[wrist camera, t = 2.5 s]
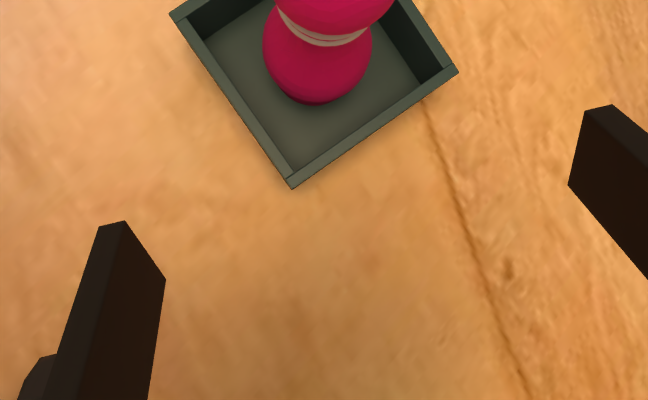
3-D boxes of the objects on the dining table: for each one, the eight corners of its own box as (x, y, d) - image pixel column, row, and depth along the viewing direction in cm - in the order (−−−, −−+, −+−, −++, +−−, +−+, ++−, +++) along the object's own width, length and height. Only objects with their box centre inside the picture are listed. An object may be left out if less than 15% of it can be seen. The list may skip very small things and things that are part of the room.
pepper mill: (251, 33, 34) (199, -190, 14) (342, 4, 34) (416, -253, 14) (284, 125, 34) (278, 34, 14) (373, 95, 35) (487, -34, 15)
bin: (187, 41, 34) (167, 13, 29) (334, -58, 35) (343, -104, 29) (291, 189, 35) (291, 189, 29) (433, 90, 36) (459, 72, 30)
